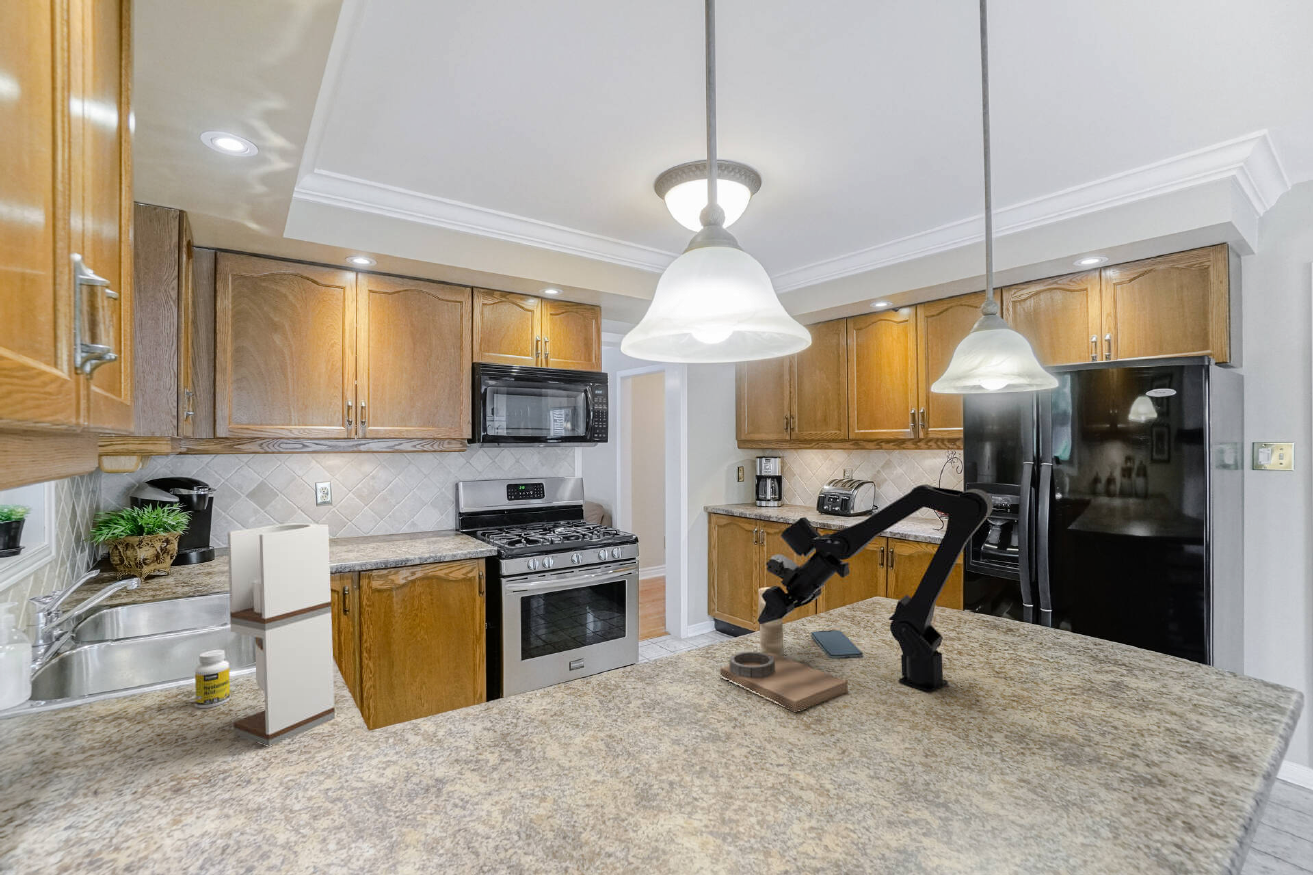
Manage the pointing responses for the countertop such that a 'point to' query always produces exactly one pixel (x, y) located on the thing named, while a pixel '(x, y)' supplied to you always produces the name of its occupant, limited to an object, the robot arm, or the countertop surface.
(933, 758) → the countertop surface
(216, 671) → the supplement bottle
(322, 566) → the display case
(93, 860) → the countertop surface
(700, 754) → the countertop surface
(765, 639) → the stool leg
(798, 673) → the stool seat
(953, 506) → the robot arm
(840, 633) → the smartphone
